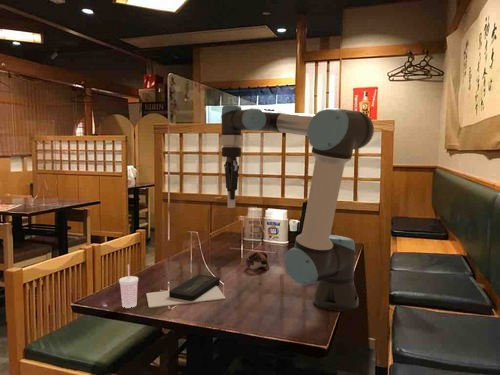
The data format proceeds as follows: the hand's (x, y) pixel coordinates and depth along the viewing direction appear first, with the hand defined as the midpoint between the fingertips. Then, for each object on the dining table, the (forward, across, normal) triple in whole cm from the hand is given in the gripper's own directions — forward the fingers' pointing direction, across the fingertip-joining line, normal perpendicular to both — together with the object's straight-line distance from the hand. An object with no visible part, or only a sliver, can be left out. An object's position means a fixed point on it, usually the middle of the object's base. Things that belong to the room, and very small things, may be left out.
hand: (231, 207), depth 154 cm
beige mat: (+29, -11, +20) cm, 37 cm away
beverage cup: (+30, -13, +39) cm, 51 cm away
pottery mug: (+30, +13, -16) cm, 36 cm away
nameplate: (+28, -3, +19) cm, 34 cm away
